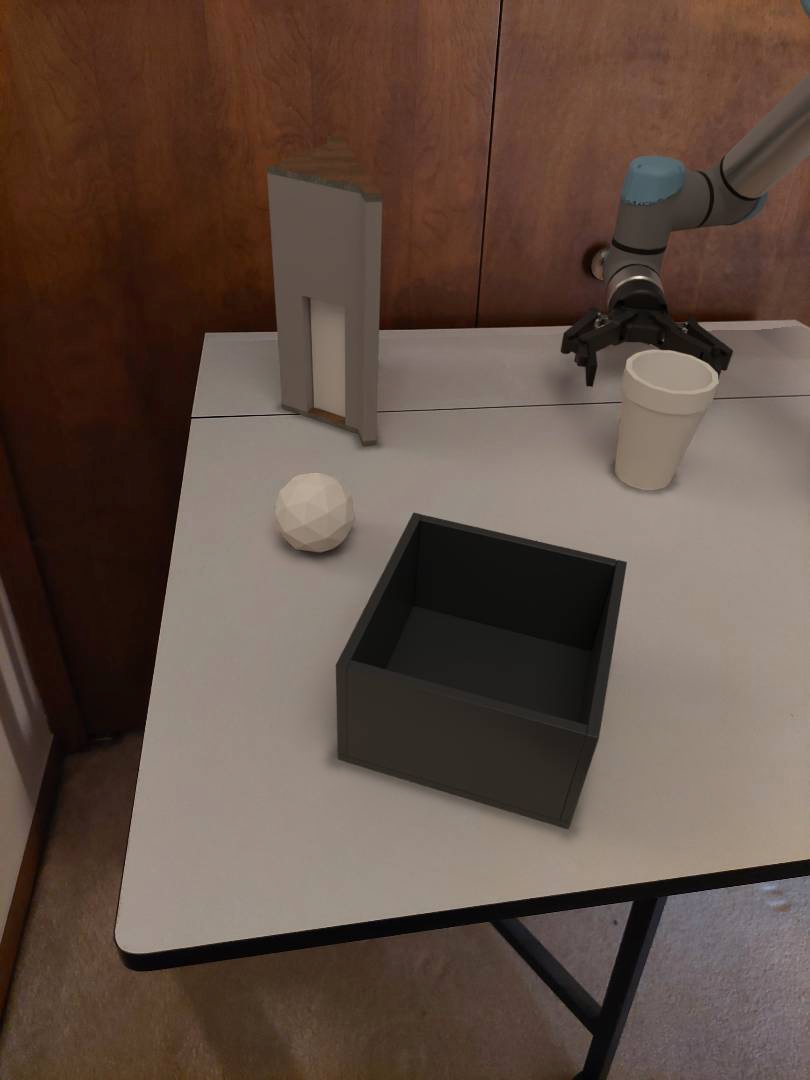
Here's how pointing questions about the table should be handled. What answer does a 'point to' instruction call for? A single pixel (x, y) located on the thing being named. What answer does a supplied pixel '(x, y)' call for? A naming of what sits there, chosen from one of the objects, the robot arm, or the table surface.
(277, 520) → the geometric ball
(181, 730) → the table surface
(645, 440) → the foam cup
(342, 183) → the cabinet
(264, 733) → the table surface
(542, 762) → the waste bin
